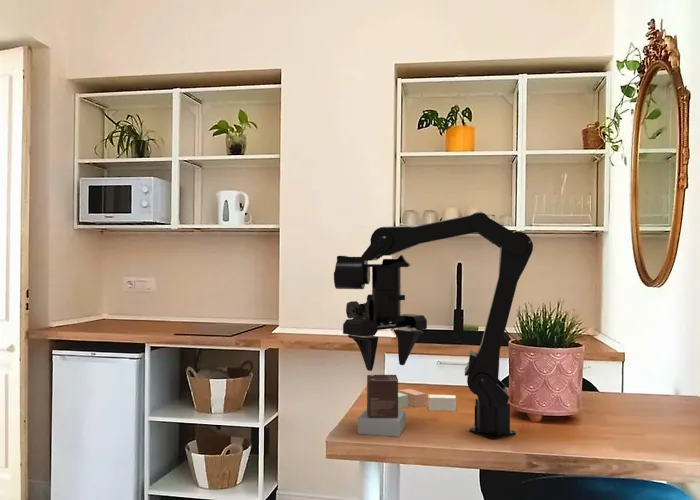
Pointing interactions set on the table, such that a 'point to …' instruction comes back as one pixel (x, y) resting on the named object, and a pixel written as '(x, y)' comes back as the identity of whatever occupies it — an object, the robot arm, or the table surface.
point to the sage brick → (402, 401)
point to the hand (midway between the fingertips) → (386, 367)
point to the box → (382, 396)
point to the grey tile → (381, 425)
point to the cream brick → (442, 402)
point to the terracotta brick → (415, 397)
